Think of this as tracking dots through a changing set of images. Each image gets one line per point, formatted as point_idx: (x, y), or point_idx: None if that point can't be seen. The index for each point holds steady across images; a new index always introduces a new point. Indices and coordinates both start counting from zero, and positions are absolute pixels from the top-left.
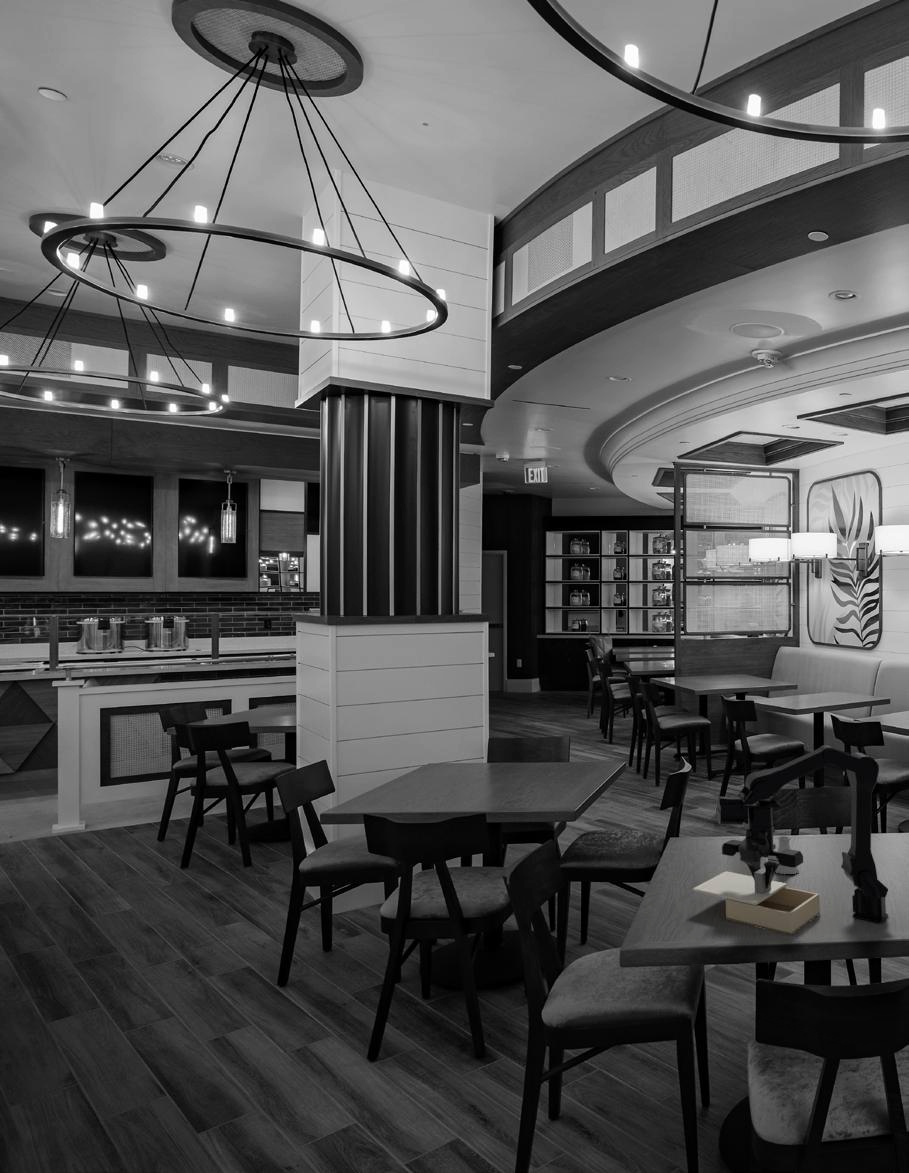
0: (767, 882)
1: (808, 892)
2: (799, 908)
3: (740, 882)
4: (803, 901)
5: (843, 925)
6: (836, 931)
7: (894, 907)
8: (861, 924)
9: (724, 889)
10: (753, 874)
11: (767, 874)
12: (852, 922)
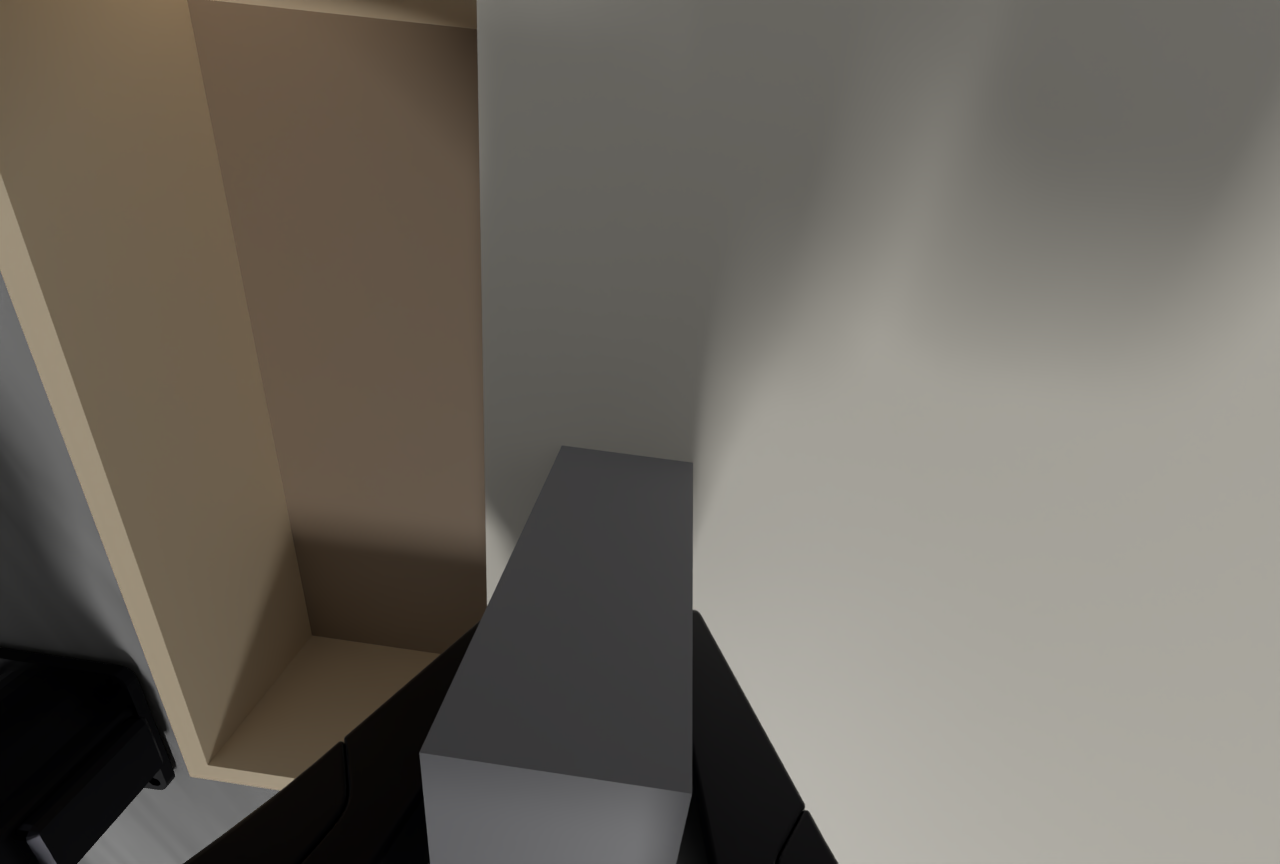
0: (464, 653)
1: (281, 780)
2: (14, 281)
3: (979, 749)
4: (375, 699)
5: (77, 511)
6: (17, 363)
7: (106, 859)
8: (23, 582)
9: (1248, 366)
10: (756, 791)
11: (347, 803)
12: (81, 590)
